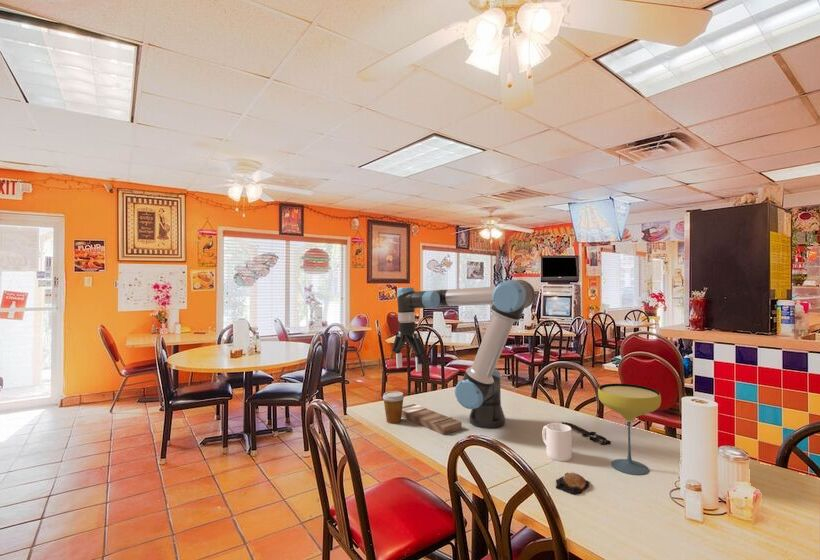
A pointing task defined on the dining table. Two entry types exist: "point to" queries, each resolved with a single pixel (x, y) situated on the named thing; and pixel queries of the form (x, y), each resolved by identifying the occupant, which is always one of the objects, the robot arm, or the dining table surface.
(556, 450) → the cup
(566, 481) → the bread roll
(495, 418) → the robot arm
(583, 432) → the knife
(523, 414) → the dining table surface
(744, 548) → the dining table surface
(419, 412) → the walnut board
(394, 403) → the disposable coffee cup
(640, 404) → the cocktail glass
